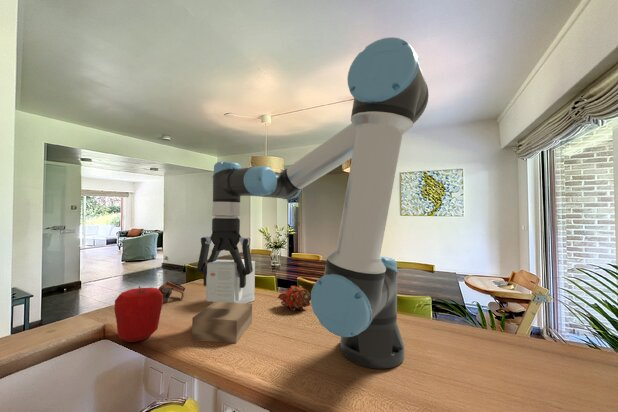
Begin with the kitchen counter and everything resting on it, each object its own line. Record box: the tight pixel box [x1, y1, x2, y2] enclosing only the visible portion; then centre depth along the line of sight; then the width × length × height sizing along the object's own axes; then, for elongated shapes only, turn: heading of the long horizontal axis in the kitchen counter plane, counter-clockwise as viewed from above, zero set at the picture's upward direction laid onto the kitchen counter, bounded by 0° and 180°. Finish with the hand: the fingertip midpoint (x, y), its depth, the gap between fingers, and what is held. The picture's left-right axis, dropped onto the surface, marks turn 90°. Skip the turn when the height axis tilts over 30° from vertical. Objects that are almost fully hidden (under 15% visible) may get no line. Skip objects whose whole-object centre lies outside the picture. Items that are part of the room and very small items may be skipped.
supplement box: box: [228, 258, 256, 304], centre depth 95 cm, size 9×9×15 cm
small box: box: [206, 259, 239, 303], centre depth 72 cm, size 8×6×10 cm
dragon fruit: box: [277, 285, 311, 311], centre depth 89 cm, size 8×8×12 cm
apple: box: [114, 285, 164, 343], centre depth 67 cm, size 10×10×14 cm
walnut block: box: [191, 302, 253, 344], centre depth 72 cm, size 12×12×6 cm
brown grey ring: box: [157, 280, 186, 304], centre depth 94 cm, size 12×10×8 cm
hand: (224, 298), depth 72 cm, fingers closed on small box, 8 cm apart
